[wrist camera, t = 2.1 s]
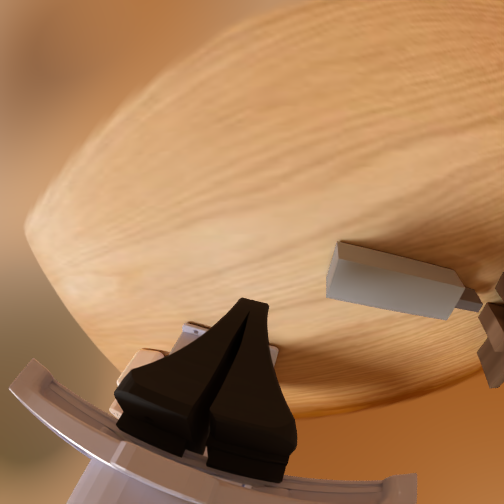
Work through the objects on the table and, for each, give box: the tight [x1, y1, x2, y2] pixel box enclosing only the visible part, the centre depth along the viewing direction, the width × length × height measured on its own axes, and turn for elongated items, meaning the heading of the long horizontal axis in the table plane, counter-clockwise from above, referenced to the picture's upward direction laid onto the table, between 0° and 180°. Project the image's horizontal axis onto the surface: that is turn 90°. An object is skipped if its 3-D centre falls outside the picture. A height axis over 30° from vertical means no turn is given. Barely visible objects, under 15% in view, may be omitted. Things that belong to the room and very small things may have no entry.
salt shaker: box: [109, 349, 164, 419], centre depth 27 cm, size 4×4×10 cm
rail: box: [326, 241, 483, 320], centre depth 17 cm, size 13×3×2 cm, turn 84°
